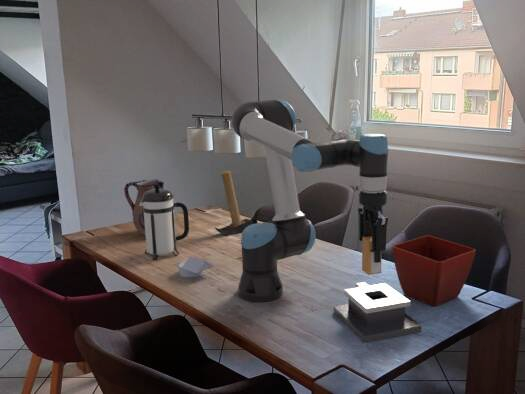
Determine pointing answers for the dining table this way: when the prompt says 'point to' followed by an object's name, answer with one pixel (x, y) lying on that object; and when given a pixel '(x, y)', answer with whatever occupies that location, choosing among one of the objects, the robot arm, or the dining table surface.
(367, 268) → the orange rectangular block
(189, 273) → the lavender faceted polyhedron
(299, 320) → the dining table surface
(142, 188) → the ceramic pitcher
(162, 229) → the coffee press
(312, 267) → the dining table surface
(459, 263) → the plant pot
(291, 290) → the dining table surface
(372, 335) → the tabbed square frame
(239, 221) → the hammer
